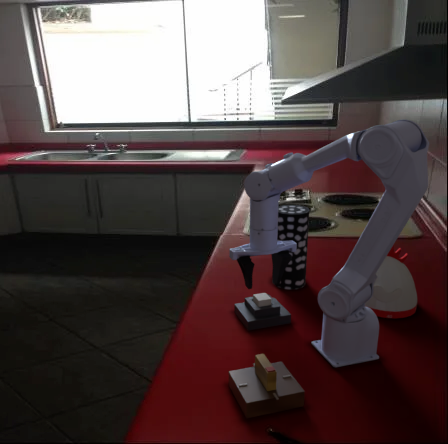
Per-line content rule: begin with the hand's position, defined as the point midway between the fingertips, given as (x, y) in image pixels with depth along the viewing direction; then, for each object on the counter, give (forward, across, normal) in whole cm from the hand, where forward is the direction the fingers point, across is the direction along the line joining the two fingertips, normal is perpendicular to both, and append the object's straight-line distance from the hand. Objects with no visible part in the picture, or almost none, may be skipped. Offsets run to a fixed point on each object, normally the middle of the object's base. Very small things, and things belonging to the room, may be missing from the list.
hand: (262, 284), depth 92 cm
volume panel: (+8, +10, +23) cm, 26 cm away
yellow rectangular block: (+5, +10, +23) cm, 26 cm away
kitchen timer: (+8, -29, +2) cm, 30 cm away
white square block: (+5, 0, 0) cm, 5 cm away
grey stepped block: (+8, 0, 0) cm, 8 cm away
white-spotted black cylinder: (+8, -14, -14) cm, 22 cm away
